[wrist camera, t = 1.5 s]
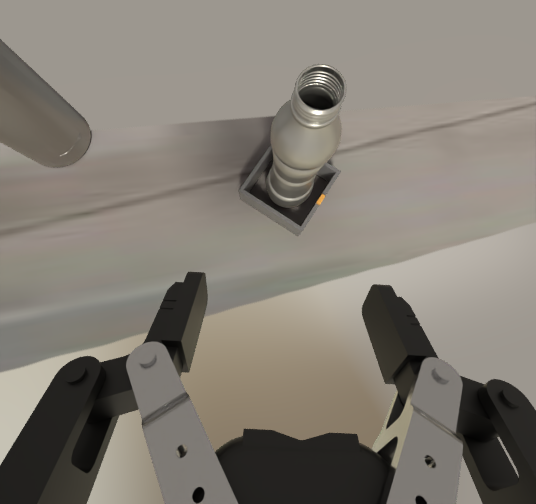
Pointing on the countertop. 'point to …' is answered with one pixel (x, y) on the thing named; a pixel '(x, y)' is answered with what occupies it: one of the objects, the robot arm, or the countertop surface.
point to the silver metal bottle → (305, 134)
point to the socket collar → (325, 172)
